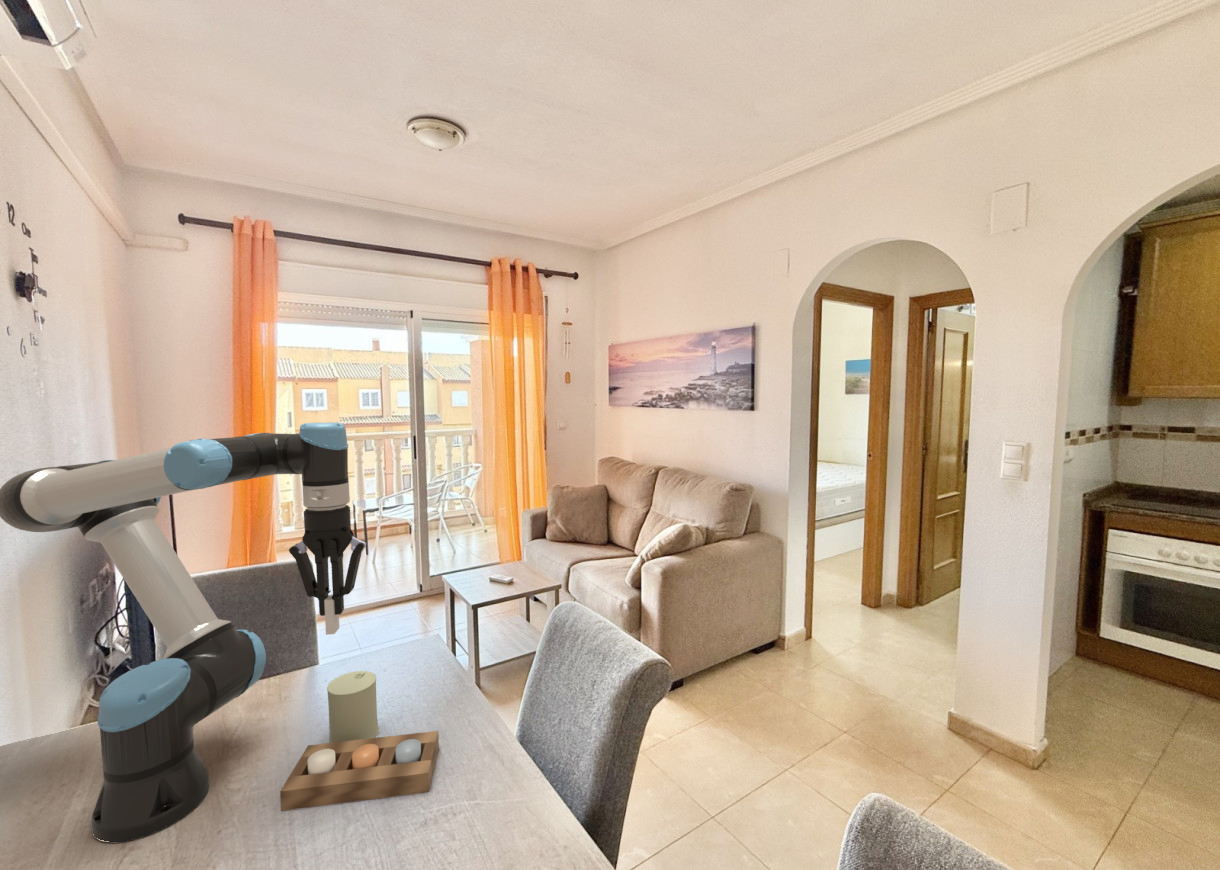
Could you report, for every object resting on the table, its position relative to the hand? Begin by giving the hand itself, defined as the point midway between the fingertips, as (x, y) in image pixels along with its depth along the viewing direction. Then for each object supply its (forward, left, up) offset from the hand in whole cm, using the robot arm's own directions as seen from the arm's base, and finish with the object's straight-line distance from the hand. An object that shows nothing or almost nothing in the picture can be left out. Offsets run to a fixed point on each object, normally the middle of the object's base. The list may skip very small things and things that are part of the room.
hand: (332, 631), depth 98 cm
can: (0, +9, -27) cm, 28 cm away
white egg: (-1, -4, -26) cm, 27 cm away
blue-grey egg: (+13, -4, -26) cm, 30 cm away
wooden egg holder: (+6, -4, -26) cm, 27 cm away
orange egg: (+6, -4, -26) cm, 27 cm away
